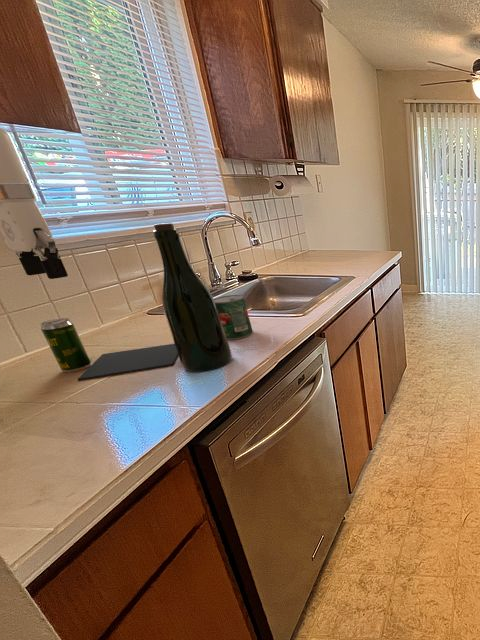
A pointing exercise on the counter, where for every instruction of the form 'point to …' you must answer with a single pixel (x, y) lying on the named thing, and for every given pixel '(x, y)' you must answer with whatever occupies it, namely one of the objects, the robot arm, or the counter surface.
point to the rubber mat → (131, 361)
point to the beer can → (65, 344)
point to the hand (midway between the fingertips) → (47, 275)
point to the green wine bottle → (189, 307)
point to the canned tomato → (234, 316)
